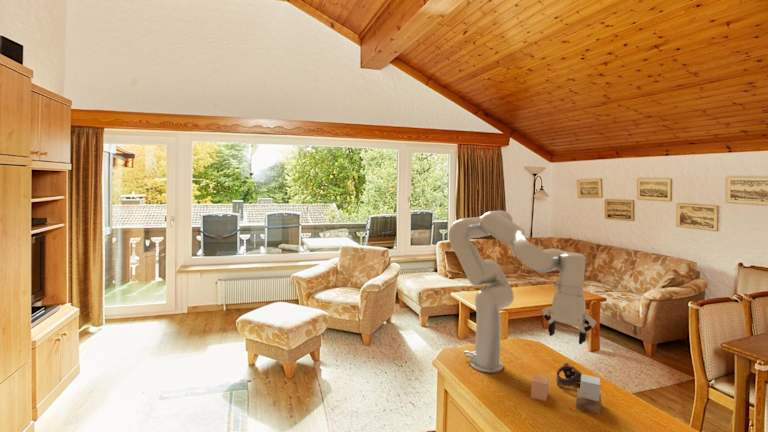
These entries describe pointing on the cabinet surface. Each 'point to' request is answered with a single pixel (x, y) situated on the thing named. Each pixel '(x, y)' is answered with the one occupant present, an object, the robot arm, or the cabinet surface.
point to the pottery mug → (568, 375)
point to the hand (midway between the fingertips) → (566, 338)
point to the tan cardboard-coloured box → (588, 403)
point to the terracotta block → (539, 387)
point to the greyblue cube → (590, 387)
